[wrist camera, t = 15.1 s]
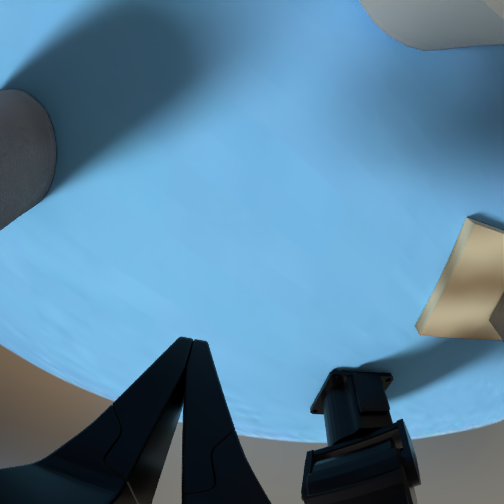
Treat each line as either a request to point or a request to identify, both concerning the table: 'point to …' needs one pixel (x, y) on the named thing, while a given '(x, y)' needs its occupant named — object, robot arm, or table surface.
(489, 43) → the can
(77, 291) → the table surface
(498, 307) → the shaft
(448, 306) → the beige piece
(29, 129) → the pillar candle
